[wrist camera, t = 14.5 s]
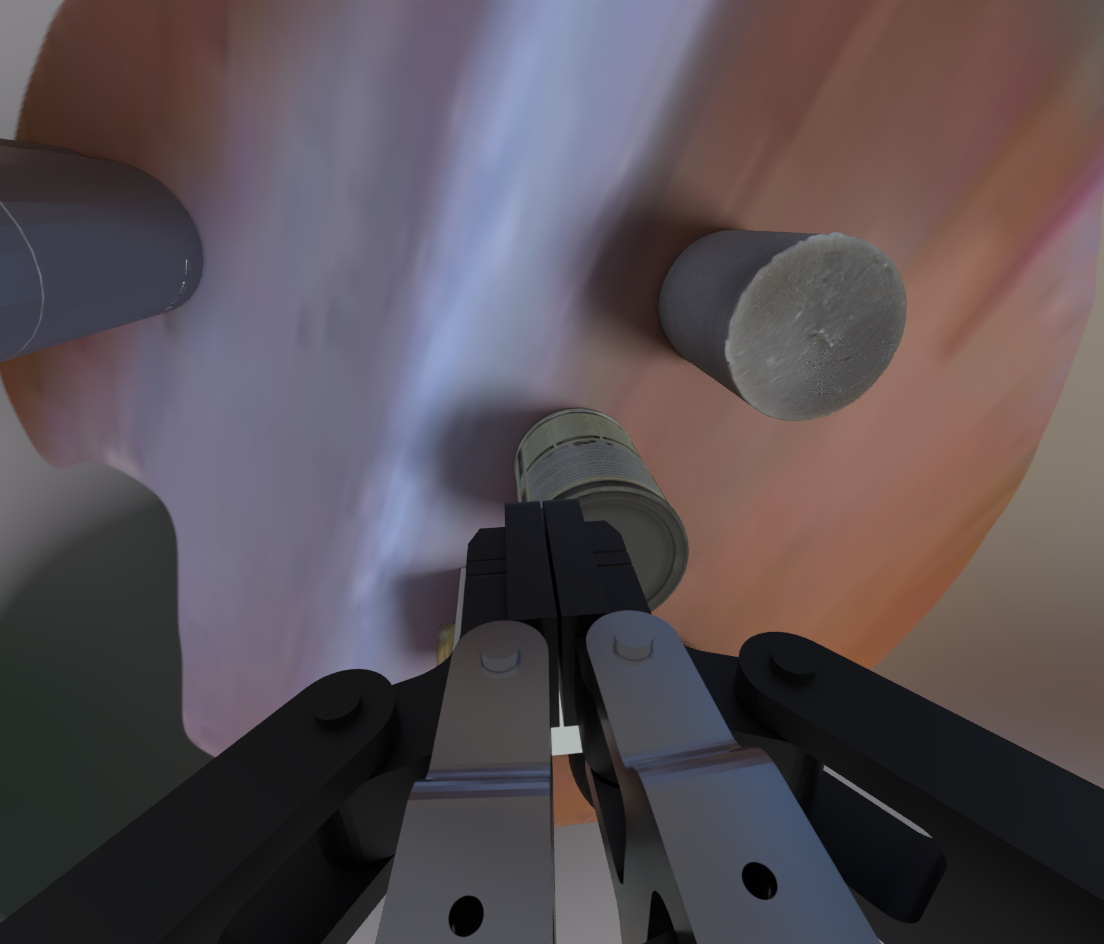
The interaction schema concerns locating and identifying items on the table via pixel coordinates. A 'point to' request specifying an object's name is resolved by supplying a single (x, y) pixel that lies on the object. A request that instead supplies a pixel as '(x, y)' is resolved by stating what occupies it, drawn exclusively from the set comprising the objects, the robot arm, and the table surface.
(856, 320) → the pillar candle
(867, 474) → the table surface
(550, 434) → the coffee can
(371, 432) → the table surface
